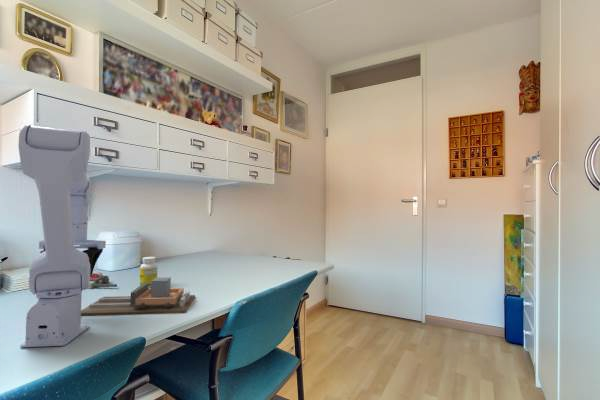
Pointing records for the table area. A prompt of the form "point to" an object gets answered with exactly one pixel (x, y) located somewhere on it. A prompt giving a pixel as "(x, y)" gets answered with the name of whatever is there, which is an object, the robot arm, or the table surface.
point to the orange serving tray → (143, 298)
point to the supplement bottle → (148, 270)
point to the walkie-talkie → (99, 281)
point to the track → (134, 306)
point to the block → (160, 287)
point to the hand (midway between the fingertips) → (71, 277)
